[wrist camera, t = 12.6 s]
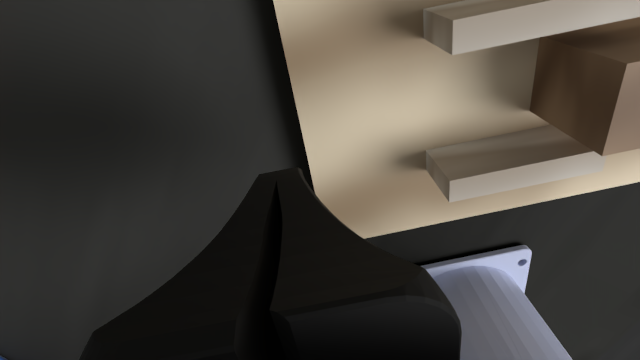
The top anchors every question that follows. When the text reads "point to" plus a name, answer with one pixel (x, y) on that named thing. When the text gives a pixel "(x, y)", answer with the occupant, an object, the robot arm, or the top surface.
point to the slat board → (436, 107)
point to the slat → (591, 85)
